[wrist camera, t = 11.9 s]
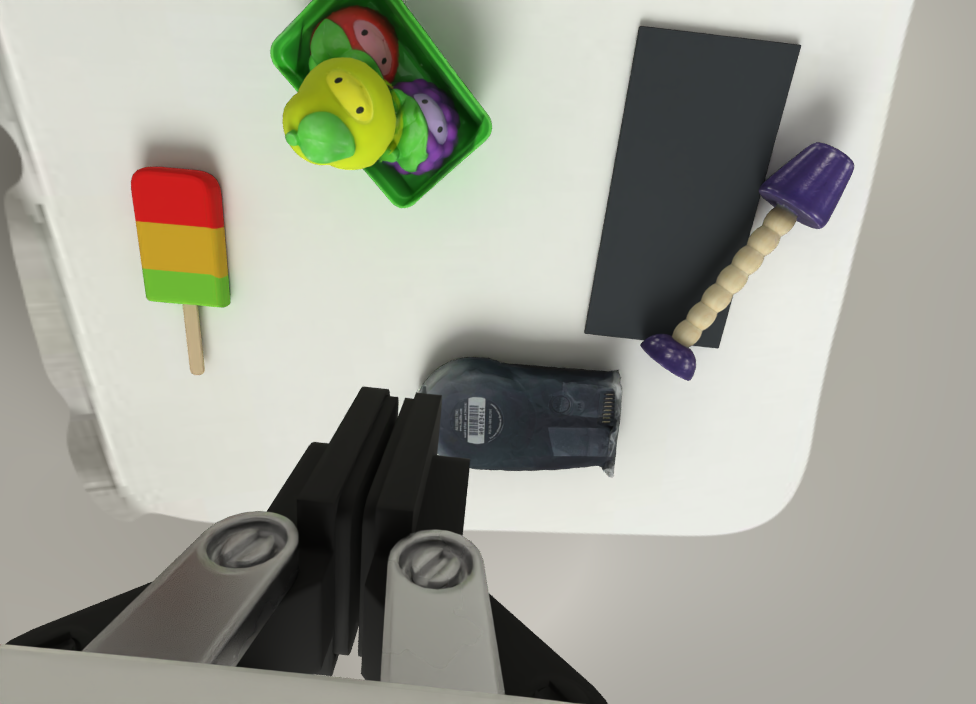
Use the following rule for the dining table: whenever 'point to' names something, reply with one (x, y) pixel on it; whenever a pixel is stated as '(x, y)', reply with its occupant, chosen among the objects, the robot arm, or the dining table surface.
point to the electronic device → (527, 415)
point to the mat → (685, 176)
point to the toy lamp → (760, 244)
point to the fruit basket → (375, 96)
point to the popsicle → (182, 244)
